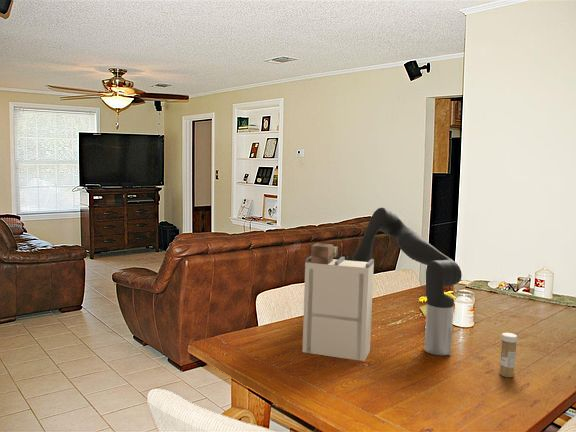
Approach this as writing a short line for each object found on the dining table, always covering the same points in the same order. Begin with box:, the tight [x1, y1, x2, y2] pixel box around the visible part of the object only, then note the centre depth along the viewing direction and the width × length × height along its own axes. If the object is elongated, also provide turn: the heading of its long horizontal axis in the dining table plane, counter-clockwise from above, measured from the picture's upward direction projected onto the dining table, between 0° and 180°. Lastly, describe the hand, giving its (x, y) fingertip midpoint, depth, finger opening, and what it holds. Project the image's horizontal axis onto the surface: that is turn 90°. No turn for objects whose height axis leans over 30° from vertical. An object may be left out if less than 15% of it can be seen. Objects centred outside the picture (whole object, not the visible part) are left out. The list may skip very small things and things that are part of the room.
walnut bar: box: [310, 242, 339, 264], centre depth 185 cm, size 6×22×6 cm, turn 162°
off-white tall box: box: [302, 255, 375, 362], centre depth 180 cm, size 22×11×33 cm, turn 72°
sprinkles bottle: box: [498, 332, 518, 378], centre depth 164 cm, size 5×5×14 cm
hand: (332, 254), depth 194 cm, fingers open, 8 cm apart
